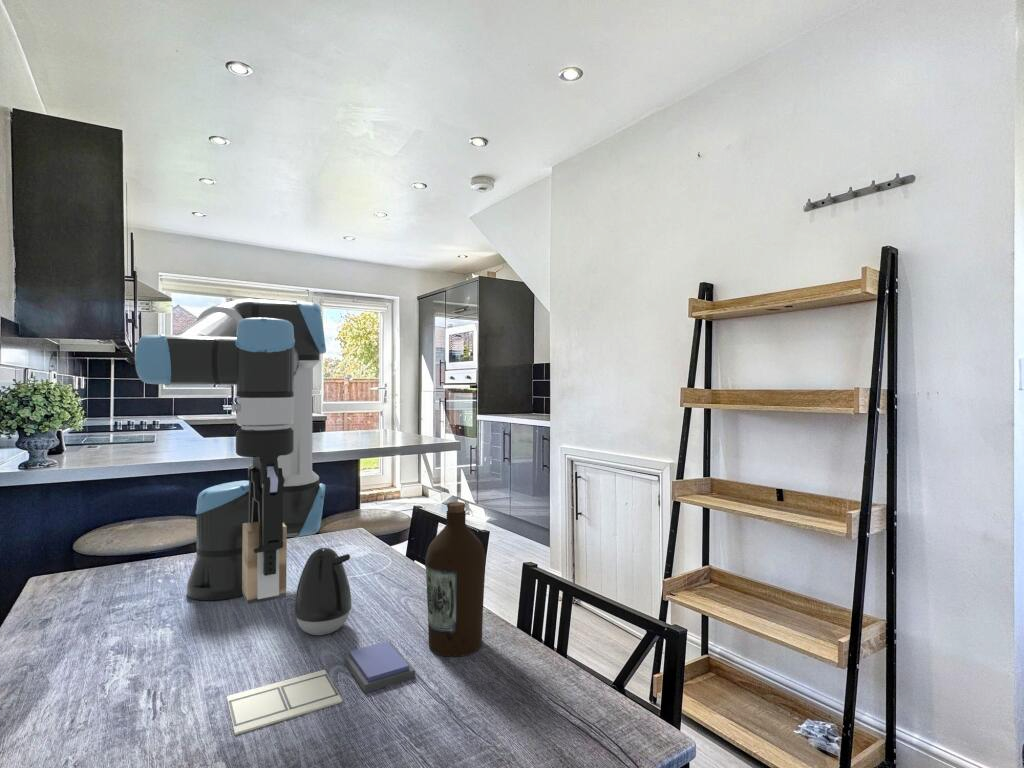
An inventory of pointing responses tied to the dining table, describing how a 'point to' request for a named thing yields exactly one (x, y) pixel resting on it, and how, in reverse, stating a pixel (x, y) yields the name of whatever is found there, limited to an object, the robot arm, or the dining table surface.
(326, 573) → the pump dispenser
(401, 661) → the ink pad
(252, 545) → the tall wooden block
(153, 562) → the dining table surface
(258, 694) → the tag card
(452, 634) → the olive oil
